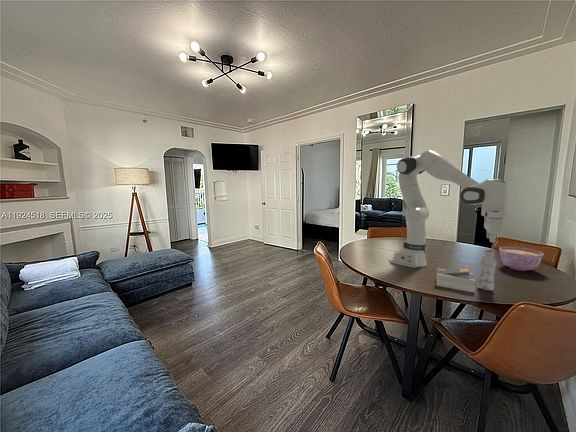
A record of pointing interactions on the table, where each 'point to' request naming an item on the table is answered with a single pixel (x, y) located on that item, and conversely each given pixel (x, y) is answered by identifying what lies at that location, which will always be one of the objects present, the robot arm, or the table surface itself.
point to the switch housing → (456, 281)
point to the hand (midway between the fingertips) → (490, 240)
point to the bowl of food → (520, 258)
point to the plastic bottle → (487, 271)
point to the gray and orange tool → (455, 272)
